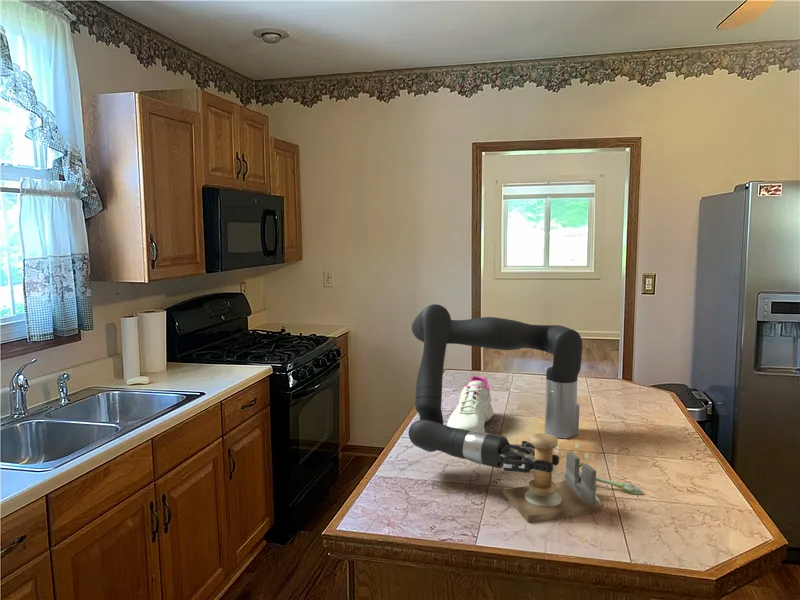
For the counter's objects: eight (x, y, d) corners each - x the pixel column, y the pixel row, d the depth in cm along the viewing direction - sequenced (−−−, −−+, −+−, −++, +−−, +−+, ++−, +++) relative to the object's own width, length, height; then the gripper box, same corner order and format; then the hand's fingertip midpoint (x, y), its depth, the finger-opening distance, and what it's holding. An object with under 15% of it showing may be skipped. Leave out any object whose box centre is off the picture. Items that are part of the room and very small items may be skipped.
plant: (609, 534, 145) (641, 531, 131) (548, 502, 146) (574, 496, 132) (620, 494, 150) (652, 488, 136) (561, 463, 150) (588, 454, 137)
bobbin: (547, 482, 137) (549, 432, 135) (560, 493, 131) (562, 442, 130) (524, 485, 136) (526, 434, 134) (536, 496, 130) (538, 444, 128)
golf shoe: (438, 448, 168) (438, 398, 165) (459, 411, 199) (459, 369, 197) (481, 452, 164) (481, 401, 162) (495, 414, 196) (495, 371, 193)
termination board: (571, 486, 143) (572, 449, 142) (600, 511, 130) (602, 472, 129) (503, 495, 139) (504, 457, 137) (527, 522, 126) (528, 481, 125)
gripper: (473, 443, 134) (546, 459, 125) (497, 425, 145) (564, 438, 137) (473, 474, 135) (545, 492, 126) (496, 453, 147) (563, 468, 138)
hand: (555, 464), depth 131 cm, fingers closed on bobbin, 4 cm apart
